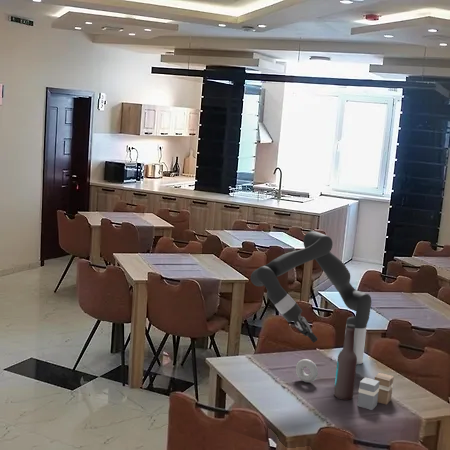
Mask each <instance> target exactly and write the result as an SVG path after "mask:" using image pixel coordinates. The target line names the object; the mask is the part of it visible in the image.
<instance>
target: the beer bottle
mask: <svg viewBox="0 0 450 450" xmlns="http://www.w3.org/2000/svg"><path fill="white" fill-rule="evenodd" d="M354 331H355V325H352V324H347V326H346V325H345V332H346V334H345V333H344V341H343V345H342V346H343V347H342V349H341V351H340V352H339V353H338V356H337V360H336V361H337V362H336V369H335V380H334V390H333V391H334V392H333V393H334V394H333V395H334V397H335V398H336V399H338V400H343V401H348V400H351V399H353V398H354V397H353V396H354V389H355V380H356V372H357V364H356V363H357V356H356V354H355V352H354Z"/></svg>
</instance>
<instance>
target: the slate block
mask: <svg viewBox="0 0 450 450" xmlns="http://www.w3.org/2000/svg"><path fill="white" fill-rule="evenodd" d="M379 382H380V381H377V380H374V379H373V378H369V377H364V378H362V380H359V386H358V395H357V396H358V397H357V405H356V406H357V407H360V408H363V409H367V410H369V411H373V410H374V409H375V408H376V407H377V405H378V402H377V400H378V392H379Z"/></svg>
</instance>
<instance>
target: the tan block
mask: <svg viewBox="0 0 450 450" xmlns="http://www.w3.org/2000/svg"><path fill="white" fill-rule="evenodd" d="M394 376H395V375H390V374H386V373H382V372H378V373H377V374H376V375H375V376H374V379H373V380H377V381H380V382H379V392H378V400H377V403H379V404H384V405H388V404H389V403H390V402H391V401H392V396H393V387H394V378H395V377H394Z"/></svg>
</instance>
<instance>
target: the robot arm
mask: <svg viewBox="0 0 450 450" xmlns="http://www.w3.org/2000/svg"><path fill="white" fill-rule="evenodd" d="M333 243H334V242H333V240H332V238H331V237H330V236H329V235H326V234H324V233H321V232H319V231H315V230H311V231H309V232H307V233H305V235H304V237H303V246H304V248H301V249H299V250H293V251H289V252H286V253H284V254H281V255H279V256H278V257H276V258H274V259H272V260H271V261H270V262H269V263H267V264H265V265H262V266H259V267H258V268H256V269H255V270H253V271H252V273H251V274H250V283H252V284H253V286H255V287H263V286H264V287H265V289H266V290H267V292H266V296H267V298H268V299H269V300H270V302H271V303H272V304H273V305H274V307H275V308H276V309H277V311H278V312H279V314H281V316H282V317H283V319H285V320H286V322H287V323H291V322H293V323H294V326H295V328H297V331H298V332H300V333H301V334H302V335H303V336H305V337H308V338H309V340H311V342H312V343H315V342H317V341H318V337H317V336H316V335H315V333H314V332H313V329H312V326H311V325H310V323H309V322H308V321H307V318H306V317H304V316H302V315H301V314H302V312H303V309H302V308H301V307H300V306H299V304H298V303H297V302H296V301H295V300H294V299H293V298H292V296H290V294H288V292H287V291H286V290H285V289H284V288H283V287H282V285H281V283H280V281H279V279H278V277H280V276H282V275H284V274H286V273H287V272H289V271H291V270H293V269H295V268H296V267H298V266H302V265H304V264H305V263H308V262H311V261H314V260H315V261H316V262H317V264H318V265H319V267H320V268H321V270H322V271H323V272H324V274H325V276H326V277H327V279H328V280H329V281H330V282H331V284H332V285H333V287H334V288H335V289H336V290H337V292H338V294H339V295H340V297H341V299H342V302H344V304H345V307H347V308H348V309H349V310H352V311H354V312H355V316H349V317H347V319H346V324H345V327H346V326H347V324H352V325H355V331H354V352H355V354H356V356H357V363H356V365H361V364H363V362H364V352H365V344H366V343H365V342H366V337H367V336H366V334H367V327H368V326H367V325H368V322H369V319H370V316H371V315H370V314H371V310H372V297H371V295H370V294H369V293H367V292H363V291H361V290H357V289H356V288H355V287H353V285H352V284H351V273H350V271H349V269H348V267H346V265H345V263H344V262H343V261H342V260H341V259H340V258H339V257H337V256H336V255H335V254H334V253H332V252H331V251H332V248H333ZM345 334H346V331H345V333H344V335H345Z"/></svg>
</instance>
